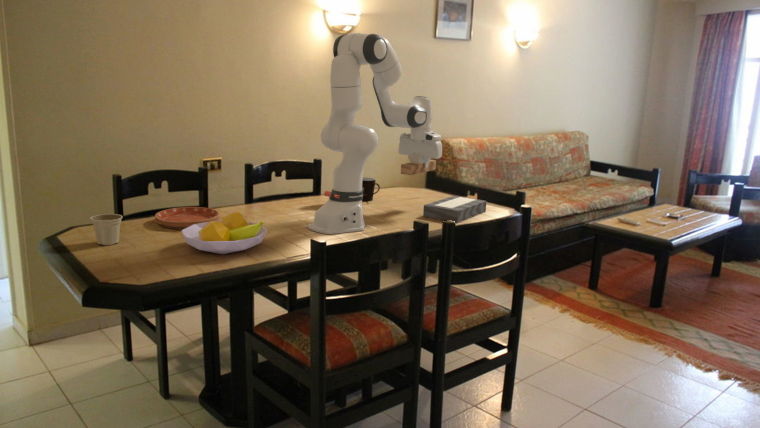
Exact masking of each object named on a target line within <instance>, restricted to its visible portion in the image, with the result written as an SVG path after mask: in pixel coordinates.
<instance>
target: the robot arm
mask: <svg viewBox="0 0 760 428" xmlns="http://www.w3.org/2000/svg"><path fill="white" fill-rule="evenodd" d="M332 53H333V58H332V61H331V64H330V65H331V66H330V74H329V75H330V77H329V78H330V80H329V81H330V97H331V101H330V102H331V106H330V107H331V109H330V116H329V118H328V121H327V123H326V125H324V126H323V128H322V129H321V131H320V140H321V143H322V145H323V146H324V147H325V148H327V149H330V150H332V151H333V152H338V153H343V154H342V158H341V160H340V163H339V164H337V165H336V166H335V167H334V168H333V177H332V178H333V179H332V180H333V181H332V183H333V184H332V189H331V191H329V190H325V191H323V195H324V197H327V198H328V200H327V201H326V202H325V203H323V204H322V205H321V206H320V207H319V208H318V209H317V210H316V211H315V214H314V218H313V222H311V223H308V224H307V228H308V229H309V230H310V231H314V232H317V233H319V234H324V235H333V234H334V235H335V234H344V233H353V232H360V231H365V227H366V223H365V220H364V213H363V201H362V199H363V190H362V179H363V177H364V170H365V165H366V163H367V161H368V160H369V159H368V158H370V156H371V155H372V154H374V152H375V151H376V150H377V148H378V145H379V136H378V134H377V132H376V130H374V129H373V128H370V127H369V126H365V125H361V124H355V123H354V121H355V117H356V116H355V115H356V114H357V113H358V112H359V111H360V110H361V109H362V106H363V99H362V98H363V97H362V80H361V72H360V70H361V66H366V65H369V66H370V70H371V71H372V75H373V78H372V86H373V89H374V90H373V91H374V94H375V97H376V100H377V103H378V106H379V108H380V115H381V119H382V122H383V124H384V125H385V126H386V127H389V128H406V129H407V128H408V129H410V133H402V134H400V135H399V144H398V150H397V151H398V154H399V155H403V156H408V157H407V158H408V160H409V163H411V154H412V153H416V154H422V157H426V160H427V161H426V162H425V163H423V168H428V163H429V162H430V160H432V159H434V160H435V159H436V160H437V159H441V158H442V157H443V144H442V142H441V140H442V135H440V134H439V133H437V132H435V131H433V130H432V124H431V123H432V119H433V102H432V100H431V98H429V97H426V96H424V95H423V96H421V95H419V96H418V95H417V96H414V97H413V100H412V101H410V102H409V103H407V104H406V103H404V104H403V103H397V102H396V101H394V100H393V98H392V96H391V95H392V94H391V92H390V89H389V88H390V87H392V86H393V85H395V84H397V82H398V81H399V80H400V78H401V76H402V73H403V68H402V65H401V62H400V59H399V58H398V55H397V53H396V51H395V49H394V48H393V46H392V45H391V43H390V42H389V40H388V39H387V38H386V37H384V36H382V35H379V34H376V33H360V32H359V33H358V32H357V33H356V32H355V33H350V34H348V33H345V34H341V35H339V36H337V38H335V40H334V43H333V48H332Z"/></svg>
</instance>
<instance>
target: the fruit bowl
mask: <svg viewBox="0 0 760 428" xmlns="http://www.w3.org/2000/svg"><path fill="white" fill-rule="evenodd" d="M264 224H265V222H264V221H263V220H261V221H260V222H259V223H257V222H250V221H249V220H248V217H247V216H246V215H245V214H243V213H242V212H240V211H238V210H236V211H233V212H232V213H230V214H227V215H226V216H224V217H222V219H221V220H217V221H210V222H206V223H199V224H194V225H192V226H190V227H188V228H186V229H180V230H181V233H182V235H183V238H184V241H185V243H186V245H189V246H191V247H193V248H195V249H197V250H199V251H203V252H210V253H214V254H220V255H225V254H230V253H231V254H232V253H236V252H240V251H247V250H248V249H250V248H252V247H255V246H257V245H259V244H261V243H262V242H263V240H264V238H265V236H266V234H267V233H268V230H267V228H266V227H264V226H263V225H264Z"/></svg>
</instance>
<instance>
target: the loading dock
mask: <svg viewBox="0 0 760 428" xmlns="http://www.w3.org/2000/svg"><path fill="white" fill-rule="evenodd" d="M422 212H423V214H422V216H424V217H423V218H427V217H428V219H433V218H434V219H433V220H438V219H440V220H439V221H443V220H452V221H455V222H456V224H459V223H461V222H464V221H466V220H468V219H472V218H473V217H476V216H479V215H481V214H484V213H486V212H487V200H482V199H476V198H470V197H465V196H458V195H452V196H449V197H445V198H443V199H439V200H437V201H433V202H429V203H426V204H423V211H422Z"/></svg>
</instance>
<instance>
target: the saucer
mask: <svg viewBox="0 0 760 428" xmlns="http://www.w3.org/2000/svg"><path fill="white" fill-rule="evenodd" d="M219 219H220V212H219V211H218V210H216V209H214V208H209V207H203V206H202V207H200V206H198V207H197V206H182V207H173V208H168V209H167V208H166V209H163V210H161V211H158V212H156V213H155V215H154V220H155V222H156V223H157V224H159V225H161V226H163V227H165V228H169V229H176V230H184V229H186V228H188V227H190V226H192V225H194V224H199V223H206V222H210V221H219Z"/></svg>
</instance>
